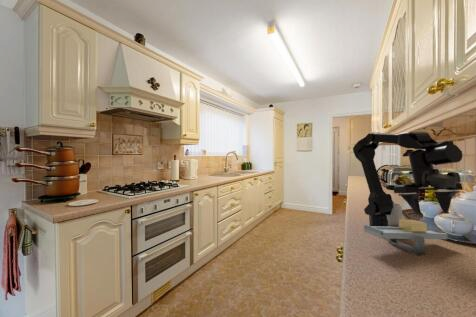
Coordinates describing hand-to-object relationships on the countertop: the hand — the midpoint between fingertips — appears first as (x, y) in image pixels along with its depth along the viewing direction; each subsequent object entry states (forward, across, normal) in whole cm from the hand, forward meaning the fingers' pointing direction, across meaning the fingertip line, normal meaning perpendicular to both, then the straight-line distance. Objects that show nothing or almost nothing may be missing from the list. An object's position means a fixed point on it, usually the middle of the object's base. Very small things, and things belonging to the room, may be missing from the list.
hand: (432, 213), depth 68 cm
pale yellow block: (+6, -5, +4) cm, 9 cm away
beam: (+7, -8, +4) cm, 11 cm away
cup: (+8, +9, +31) cm, 33 cm away
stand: (+11, -8, +4) cm, 14 cm away
